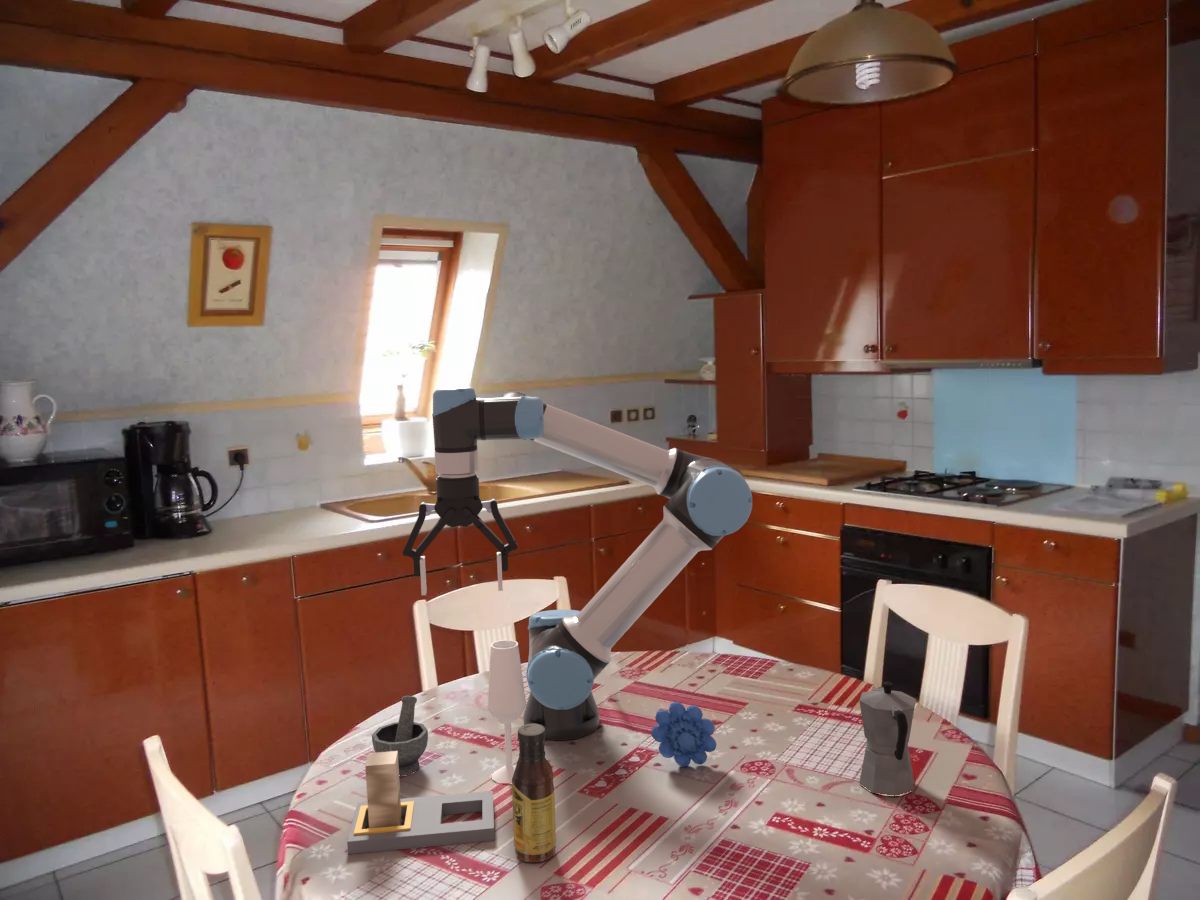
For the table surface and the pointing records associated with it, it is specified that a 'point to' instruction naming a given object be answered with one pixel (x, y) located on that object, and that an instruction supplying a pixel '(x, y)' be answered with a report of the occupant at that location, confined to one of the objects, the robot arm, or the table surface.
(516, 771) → the sauce bottle
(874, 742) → the coffeepot
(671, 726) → the blue flower
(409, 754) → the mortar and pestle
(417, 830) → the peg board
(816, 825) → the table surface
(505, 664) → the champagne flute
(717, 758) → the table surface
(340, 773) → the table surface
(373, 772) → the wooden peg
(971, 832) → the table surface
